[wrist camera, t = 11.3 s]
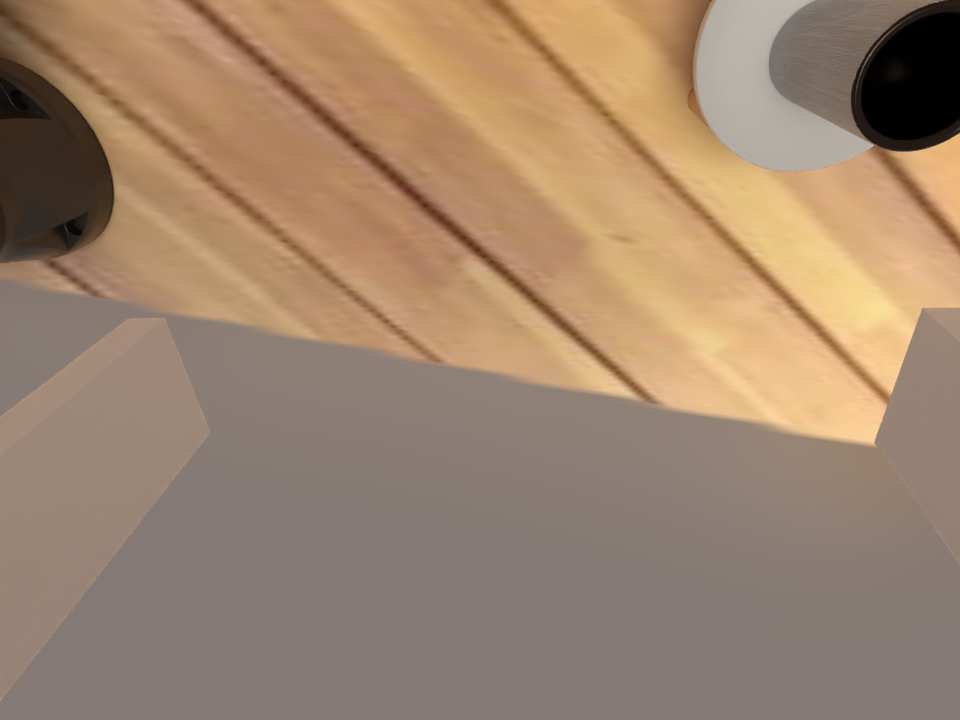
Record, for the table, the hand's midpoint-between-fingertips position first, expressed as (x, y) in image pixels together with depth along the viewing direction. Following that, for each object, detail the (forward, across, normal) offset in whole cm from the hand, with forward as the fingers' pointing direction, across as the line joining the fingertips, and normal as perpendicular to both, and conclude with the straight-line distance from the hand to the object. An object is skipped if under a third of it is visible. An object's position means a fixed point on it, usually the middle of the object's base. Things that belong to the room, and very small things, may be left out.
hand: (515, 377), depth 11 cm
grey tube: (+24, +13, +2) cm, 27 cm away
